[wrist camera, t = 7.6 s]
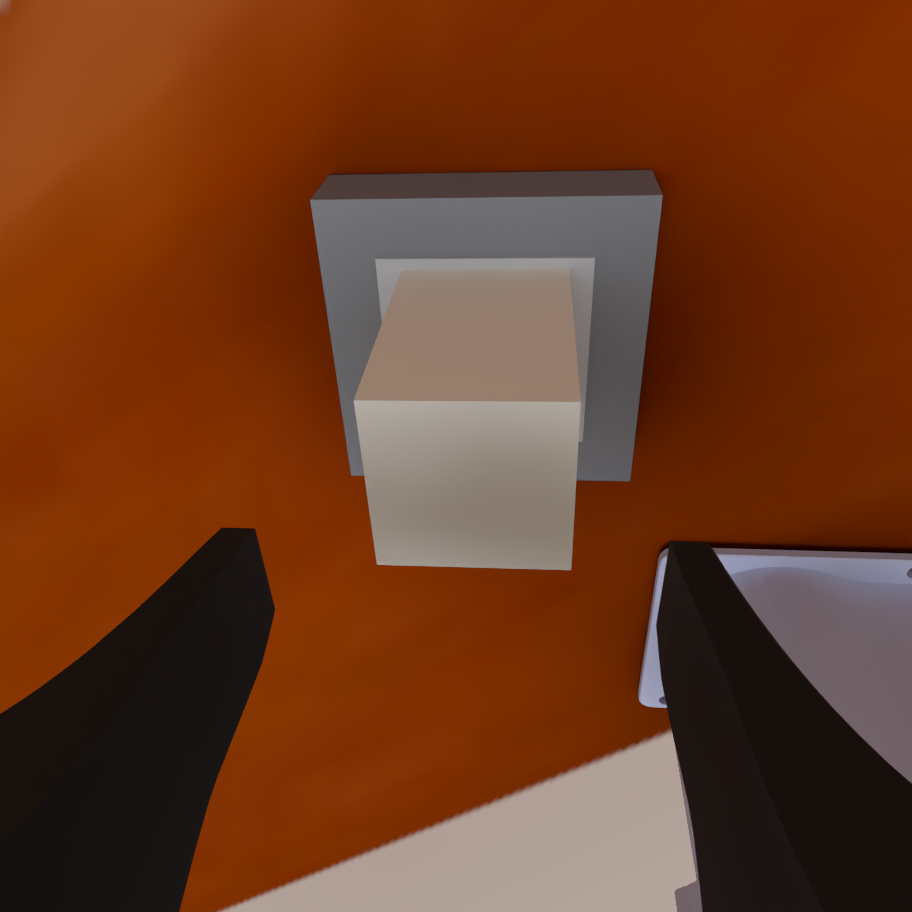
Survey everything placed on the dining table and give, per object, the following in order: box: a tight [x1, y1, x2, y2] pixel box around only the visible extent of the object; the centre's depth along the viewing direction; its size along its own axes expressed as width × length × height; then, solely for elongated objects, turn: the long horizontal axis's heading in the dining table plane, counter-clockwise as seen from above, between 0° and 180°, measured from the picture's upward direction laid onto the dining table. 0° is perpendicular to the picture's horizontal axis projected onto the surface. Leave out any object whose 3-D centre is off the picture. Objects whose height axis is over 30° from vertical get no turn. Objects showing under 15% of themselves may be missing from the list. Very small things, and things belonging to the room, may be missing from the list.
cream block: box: [354, 268, 581, 570], centre depth 17 cm, size 4×4×6 cm
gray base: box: [310, 170, 663, 481], centre depth 21 cm, size 8×8×2 cm
